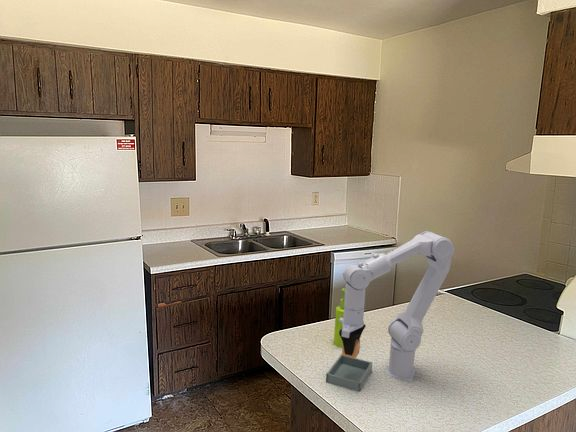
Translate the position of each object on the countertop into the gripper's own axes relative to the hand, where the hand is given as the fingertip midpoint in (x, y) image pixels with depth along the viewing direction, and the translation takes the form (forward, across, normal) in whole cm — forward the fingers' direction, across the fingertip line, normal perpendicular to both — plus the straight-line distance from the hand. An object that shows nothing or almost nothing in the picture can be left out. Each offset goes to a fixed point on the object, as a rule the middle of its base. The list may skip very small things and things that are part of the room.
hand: (351, 350), depth 126 cm
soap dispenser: (+9, -19, -8) cm, 22 cm away
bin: (+8, 0, 0) cm, 8 cm away
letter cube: (+1, 0, 0) cm, 1 cm away
